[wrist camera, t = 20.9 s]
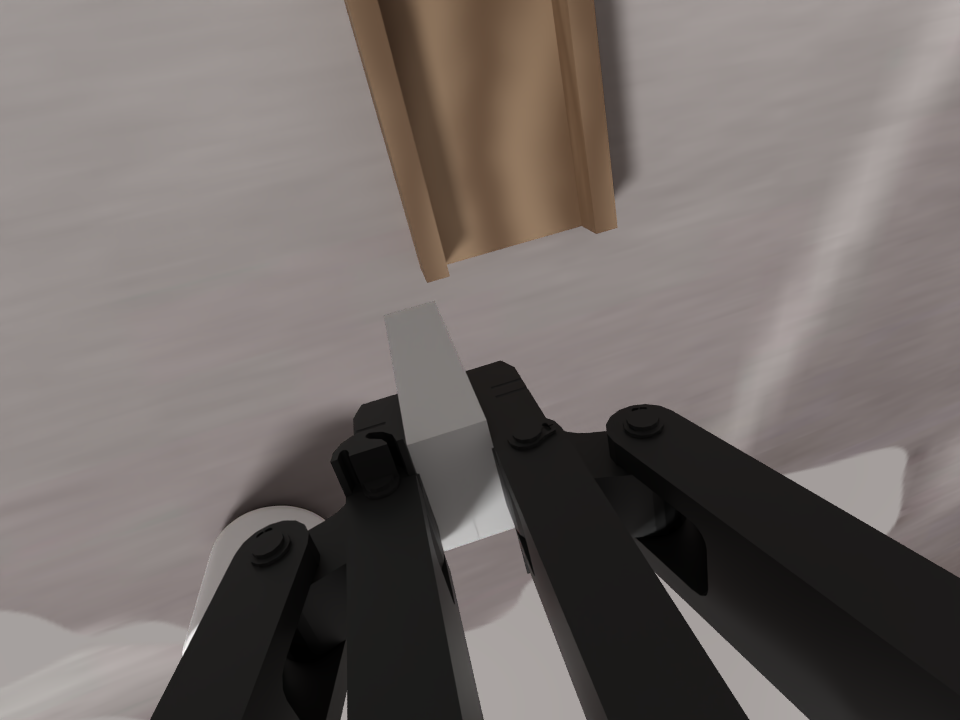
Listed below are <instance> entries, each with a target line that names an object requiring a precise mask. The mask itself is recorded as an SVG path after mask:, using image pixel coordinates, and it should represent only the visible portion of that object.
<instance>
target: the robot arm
mask: <svg viewBox="0 0 960 720" xmlns="http://www.w3.org/2000/svg"><path fill="white" fill-rule="evenodd" d="M384 319H385V324H386V330H387V336H388V341H389V347H390V353H391V358H392V364H393V370H394V376H395V381H396V387H397V393H398V394H395V395H392V396H389V397H386V398H382V399H379V400H376V401H373V402H369V403H366V404H363V405H361V407H360V408H359V410H358V412H357V413H356V415H355V417H354V419H353V423H354V435H353V436H352V437H350V438H349V439H347V440H346V441H344V442H343V443H342V444H341V445H340V446H339V447H338V448H337V449H336V450H335V452H334V453H333V456H332V459H331V464H332V467H333V469H334V471H335V473H336V476H337V478H338V480H339V482H340V485H341V487H342V489H343V491H344V494H345V496H346V504H345V506H344V507H342V508H341V509H340V510H339V511H338V512H337V513H336V514H334V515H333V516H331V517H330V518H328V519H327V520H325V521H323V522H322V523H320V524H318V525H316V526H315V527H313V528H311V529H309V530H307V528H306V526H305V524H302V523H300V522H298V521H296V520H283V521H280V522H277V523H273V524H270V525H268V526H266V527H264V528H262V529H261V530H259V531H257V532H255V533H254V534H253V535H252V536H251V537H249V538H248V539H247V540H246V541H245V542H244V543H243V544H242V545H241V546H240V548H239V549H238V551H237V552H236V553H235V555H234V557H233V559H232V561H231V563H230V565H229V567H228V569H227V570H226V572H225V574H224V576H223V578H222V580H221V582H220V584H219V586H218V588H217V590H216V592H215V594H214V596H213V598H212V600H211V602H210V604H209V606H208V608H207V610H206V612H205V613H204V615H203V617H202V619H201V621H200V623H199V625H198V627H197V629H196V631H195V633H194V635H193V637H192V639H191V641H190V643H189V645H188V647H187V649H186V651H185V653H184V655H183V656H182V658H181V660H180V662H179V664H178V666H177V668H176V670H175V672H174V674H173V676H172V678H171V680H170V682H169V684H168V686H167V688H166V690H165V692H164V694H163V696H162V698H161V699H160V701H159V703H158V705H157V707H156V709H155V711H154V713H153V715H152V717H151V719H150V720H340V719H341V715H342V710H343V706H344V701H345V697H346V692H347V708H348V709H347V718H348V719H347V720H484V719H483V714H482V710H481V706H480V701H479V697H478V692H477V688H476V683H475V679H474V674H473V670H472V665H471V661H470V656H469V652H468V648H467V643H466V639H465V634H464V630H463V625H462V621H461V616H460V612H459V607H458V603H457V599H456V594H455V590H454V585H453V581H452V576H451V572H450V569H449V566H448V563H447V560H446V558H445V555H444V551H447V550H450V549H453V548H456V547H459V546H462V545H465V544H468V543H471V542H474V541H477V540H480V539H483V538H486V537H489V536H492V535H495V534H498V533H501V532H504V531H507V530H509V529H512V528H516V532H517V535H518V539H519V543H520V547H521V551H522V554H523V558H524V562H525V566H526V570H527V574H528V573H531V576H532V578H533V581H534V583H535V586H536V589H537V591H538V594H539V597H540V599H541V602H542V604H543V607H544V609H545V612H546V615H547V617H548V620H549V623H550V625H551V628H552V630H553V633H554V635H555V638H556V641H557V643H558V646H559V649H560V651H561V654H562V657H563V659H564V661H565V664H566V667H567V670H568V672H569V675H570V677H571V680H572V682H573V685H574V688H575V690H576V693H577V696H578V698H579V701H580V703H581V706H582V709H583V711H584V714H585V717H586V719H587V720H749V719H748V717H747V716H746V714H745V713H744V711H743V709H742V708H741V706H740V705H739V703H738V702H737V700H736V698H735V697H734V695H733V694H732V692H731V691H730V689H729V688H728V686H727V684H726V683H725V681H724V680H723V678H722V677H721V675H720V673H719V672H718V670H717V669H716V667H715V666H714V664H713V663H712V661H711V659H710V658H709V656H708V655H707V653H706V652H705V650H704V649H703V647H702V645H701V644H700V642H699V641H698V640H697V638H696V636H695V635H694V633H693V631H692V630H691V628H690V627H689V625H688V624H687V622H686V621H685V619H684V617H683V616H682V614H681V613H680V611H679V610H678V608H677V607H676V605H675V604H674V602H673V600H672V599H671V597H670V596H669V594H668V593H667V591H666V590H665V588H664V586H663V585H662V583H661V582H660V580H659V579H658V577H657V575H658V576H659V577H661V578H662V579H663V580H664V581H665V582H666V583H667V584H668V585H669V586H670V587H671V588H672V589H673V590H674V591H675V592H676V593H677V594H678V595H679V596H680V597H681V598H682V599H684V600H685V601H686V602H687V603H688V604H689V605H690V606H691V607H692V608H693V609H694V610H695V611H696V612H697V613H698V614H699V615H700V616H701V617H703V619H705V620H706V621H707V622H708V623H709V624H710V625H711V626H712V627H713V628H714V629H715V630H716V631H717V632H718V633H719V634H720V635H721V636H722V637H723V638H724V639H725V640H727V641H728V642H729V643H730V644H731V645H732V646H733V647H734V648H735V649H736V650H737V651H738V652H739V653H740V654H741V655H742V656H743V657H745V658H746V660H748V661H749V662H750V663H751V664H752V665H753V666H754V667H755V668H756V669H757V670H758V671H759V672H760V673H761V674H762V675H763V676H765V678H766V679H767V680H769V681H770V682H771V683H772V684H773V685H774V686H775V687H776V688H777V689H778V690H779V691H780V692H781V693H782V694H783V695H784V696H785V697H786V698H787V699H788V700H789V701H791V702H792V703H793V704H794V705H795V706H796V707H797V708H798V709H799V710H800V711H801V712H802V713H803V714H804V715H805V716H806V717H807V718H808V719H809V720H960V578H959V577H957V576H955V575H954V574H952V573H950V572H948V571H947V570H945V569H943V568H942V567H940V566H938V565H936V564H935V563H933V562H931V561H930V560H928V559H926V558H924V557H923V556H921V555H919V554H918V553H916V552H914V551H912V550H911V549H909V548H907V547H906V546H904V545H902V544H900V543H899V542H897V541H895V540H893V539H892V538H890V537H888V536H887V535H885V534H883V533H881V532H880V531H878V530H876V529H875V528H873V527H871V526H869V525H868V524H866V523H864V522H863V521H860V520H859V519H857V518H856V517H854V516H852V515H850V514H849V513H847V512H845V511H844V510H842V509H840V508H838V507H837V506H835V505H833V504H832V503H830V502H828V501H826V500H825V499H823V498H821V497H820V496H818V495H816V494H814V493H813V492H811V491H809V490H808V489H806V488H804V487H802V486H801V485H799V484H797V483H796V482H794V481H792V480H790V479H788V478H787V477H785V476H783V475H782V474H780V473H778V472H777V471H775V470H773V469H771V468H770V467H768V466H766V465H765V464H763V463H761V462H759V461H758V460H756V459H754V458H753V457H751V456H749V455H747V454H746V453H744V452H742V451H741V450H739V449H737V448H735V447H734V446H732V445H730V444H728V443H727V442H725V441H723V440H722V439H720V438H718V437H716V436H715V435H713V434H711V433H710V432H708V431H706V430H704V429H703V428H701V427H699V426H698V425H696V424H694V423H692V422H691V421H689V420H687V419H686V418H684V417H682V416H680V415H679V414H677V413H675V412H673V411H672V410H669V409H667V408H664V407H662V406H657V405H649V404H643V405H633V406H629V407H627V408H624V409H621V410H619V411H617V412H616V413H615V414H613V415H612V416H611V417H610V418H609V420H608V422H607V424H606V429H607V431H603V432H593V433H572V432H566V431H563V429H562V428H561V426H559V425H558V424H557V423H556V422H555V421H553V420H550V419H547V418H546V417H545V416H544V414H543V412H542V411H541V409H540V408H539V406H538V404H537V403H536V401H535V400H534V398H533V396H532V395H531V393H530V391H529V390H528V389H527V387H526V385H525V383H524V382H523V380H522V379H521V377H520V375H519V374H518V372H517V370H516V369H515V367H513V366H511V365H509V364H507V363H505V362H503V361H498V362H494V363H491V364H488V365H485V366H481V367H478V368H475V369H472V370H468V371H465V369H464V367H463V365H462V363H461V360H460V358H459V356H458V353H457V351H456V349H455V346H454V344H453V342H452V339H451V337H450V335H449V333H448V330H447V328H446V326H445V323H444V321H443V319H442V316H441V314H440V312H439V309H438V307H437V305H436V303H435V301H432V302H428V303H425V304H421V305H418V306H415V307H411V308H408V309H404V310H401V311H397V312H394V313H391V314H387V315H384ZM514 525H515V527H514ZM443 549H444V551H443ZM655 573H656V574H657V575H656V574H655Z"/></svg>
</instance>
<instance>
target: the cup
mask: <svg viewBox="0 0 960 720" xmlns="http://www.w3.org/2000/svg"><path fill="white" fill-rule="evenodd" d="M283 520H296V521H298V522H300V523H302V524H305V526H306V528H307V530H309V529H311V528H313V527H315V526H316V525H318V524H320V523H322V522H323V521H325V520H324V519H323V518H322V517H320V516H319V515H317V514H315V513H313V512H311V511H308V510H306V509H302V508H298V507H293V506H270V507H264V508H259V509H256V510H253V511H250V512H248V513H246V514H244V515H242V516H240V517H238V518H237V519H235V520H234V521H232V522H231V523H230V524H229V525H228V526H227V527H226V528H225V529H224V530H223V531H222V532H221V533H220V535H219V536H218V538H217V539H216V541H215V543H214V545H213V548H212V550H211V554H210V557H209V561H208V564H207V567H206V571H205V574H204V578H203V581H202V585H201V588H200V591H199V595H198V598H197V602H196V605H195V609H194V612H193V615H192V619H191V622H190V626H189V629H188V632H187V636H186V639H185V643H184V646H183V651H182V656H183V655H184V653H185V651H186V649H187V647H188V645H189V643H190V641H191V639H192V637H193V635H194V633H195V631H196V629H197V627H198V625H199V623H200V621H201V619H202V617H203V615H204V613H205V612H206V610H207V608H208V606H209V604H210V602H211V600H212V598H213V596H214V594H215V592H216V590H217V588H218V586H219V584H220V582H221V580H222V578H223V576H224V574H225V572H226V570H227V569H228V567H229V565H230V563H231V561H232V559H233V557H234V555H235V553H236V552H237V551H238V549H239V548H240V546H241V545H242V544H243V543H244V542H245V541H246V540H247V539H248V538H249V537H251V536H252V535H253V534H254V533H255V532H257V531H259V530H261V529H262V528H264V527H266V526H268V525H270V524H273V523H277V522H280V521H283Z"/></svg>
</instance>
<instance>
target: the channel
mask: <svg viewBox="0 0 960 720" xmlns="http://www.w3.org/2000/svg"><path fill="white" fill-rule="evenodd" d="M344 1H345V5H346V8H347V12H348V15H349V19H350V22H351V26H352V29H353V33H354V36H355V40H356V43H357V47H358V50H359V54H360V57H361V61H362V64H363V68H364V71H365V75H366V78H367V82H368V85H369V89H370V92H371V96H372V99H373V103H374V106H375V110H376V113H377V117H378V120H379V124H380V127H381V131H382V134H383V138H384V141H385V145H386V148H387V152H388V155H389V159H390V162H391V166H392V169H393V173H394V176H395V180H396V183H397V187H398V190H399V194H400V197H401V201H402V204H403V208H404V211H405V215H406V218H407V222H408V225H409V229H410V232H411V236H412V239H413V243H414V246H415V250H416V253H417V257H418V260H419V264H420V267H421V270H422V272H423V274H424V277H425V279H426V281H427V283H428V282H432V281H435V280H439V279H442V278H445V277H449V276H450V275H449V271H448V268H447V264H451V263H454V262H458V261H461V260H464V259H468V258H471V257H475V256H478V255H482V254H485V253H489V252H492V251H496V250H499V249H503V248H506V247H510V246H513V245H517V244H520V243H524V242H527V241H531V240H534V239H538V238H541V237H545V236H548V235H551V234H555V233H558V232H562V231H565V230H569V229H572V228H576V227H579V226H583V227H585V228H587V229H588V230H590V231H592V232H594V233H596V234H597V233H601V232H604V231H608V230H611V229H615V228H617V218H616V209H615V199H614V190H613V180H612V170H611V161H610V151H609V141H608V132H607V122H606V113H605V103H604V93H603V84H602V74H601V64H600V55H599V45H598V36H597V26H596V16H595V7H594V0H344Z"/></svg>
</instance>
